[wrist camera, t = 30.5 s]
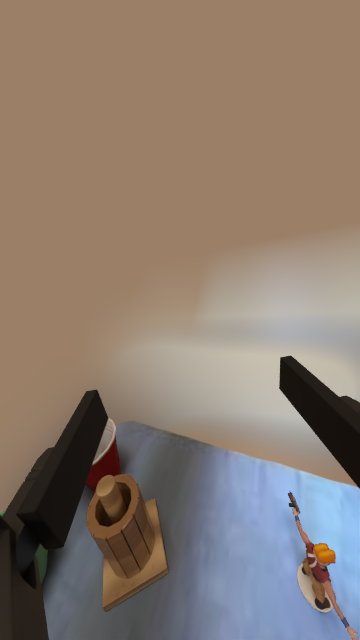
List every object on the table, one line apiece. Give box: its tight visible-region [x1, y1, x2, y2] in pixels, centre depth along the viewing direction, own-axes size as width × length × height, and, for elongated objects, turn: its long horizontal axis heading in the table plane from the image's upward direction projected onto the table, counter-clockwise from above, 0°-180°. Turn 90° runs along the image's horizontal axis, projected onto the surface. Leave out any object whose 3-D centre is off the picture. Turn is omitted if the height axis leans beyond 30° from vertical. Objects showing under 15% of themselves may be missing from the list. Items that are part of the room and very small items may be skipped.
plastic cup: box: [86, 418, 120, 492], centre depth 39 cm, size 11×11×12 cm
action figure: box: [288, 492, 358, 640], centre depth 24 cm, size 12×3×9 cm, turn 2°
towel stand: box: [96, 475, 169, 612], centre depth 28 cm, size 9×9×16 cm
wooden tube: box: [86, 474, 155, 579], centre depth 28 cm, size 7×7×11 cm
